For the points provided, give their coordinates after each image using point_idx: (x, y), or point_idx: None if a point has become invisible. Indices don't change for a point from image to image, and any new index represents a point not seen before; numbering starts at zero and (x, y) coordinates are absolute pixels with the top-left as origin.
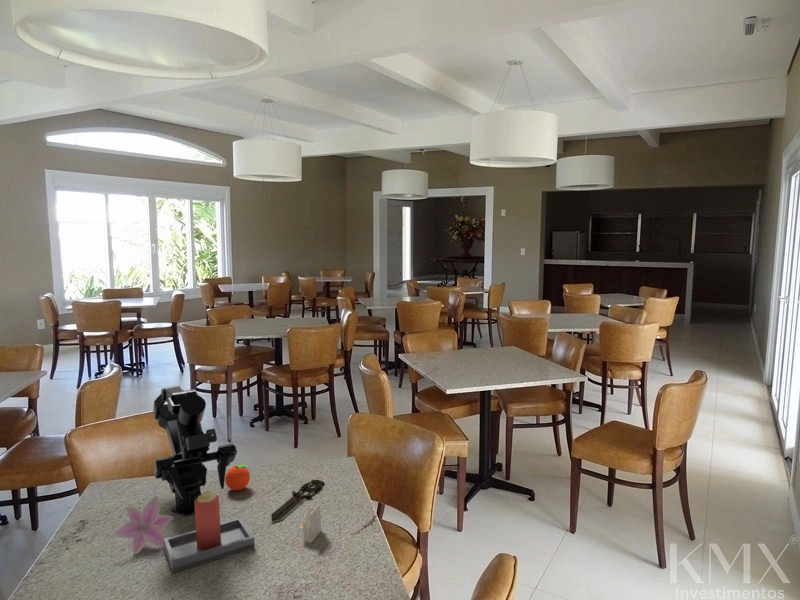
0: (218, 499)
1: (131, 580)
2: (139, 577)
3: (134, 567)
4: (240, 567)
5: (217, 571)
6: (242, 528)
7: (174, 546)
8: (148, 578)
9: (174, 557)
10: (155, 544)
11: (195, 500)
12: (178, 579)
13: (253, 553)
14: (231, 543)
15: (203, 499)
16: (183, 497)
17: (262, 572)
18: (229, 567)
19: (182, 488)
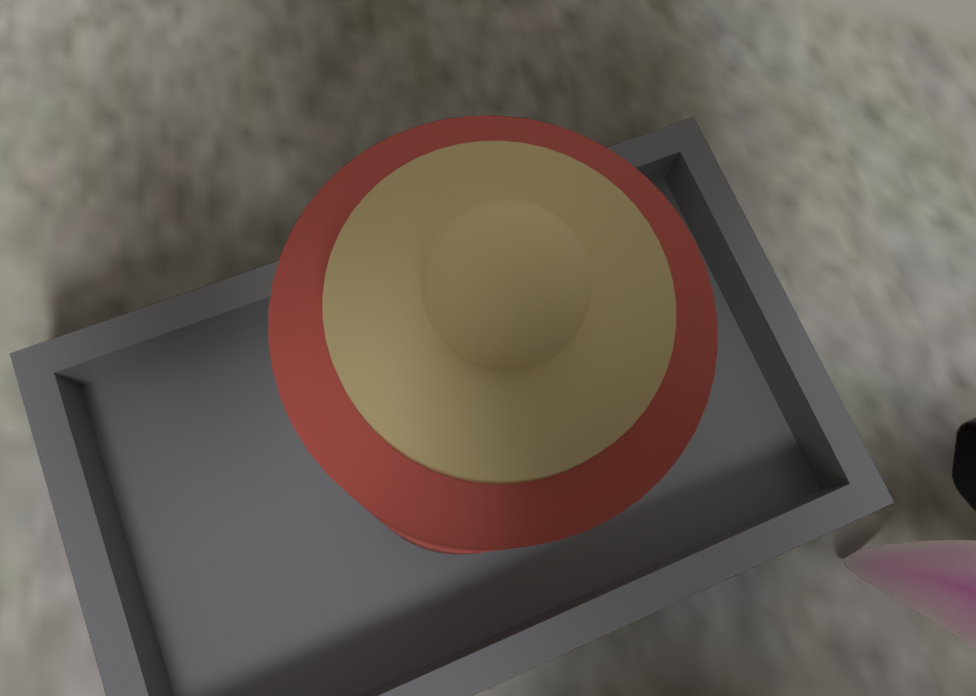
0: (274, 283)
1: (924, 143)
2: (884, 165)
3: (972, 293)
4: (180, 125)
5: (349, 115)
6: (136, 616)
7: (761, 466)
8: (818, 140)
9: (697, 176)
10: (942, 540)
11: (700, 315)
12: (608, 86)
13: (72, 289)
14: (232, 290)
15: (544, 206)
16: (962, 424)
17: (18, 33)
18: (264, 143)
19: None
